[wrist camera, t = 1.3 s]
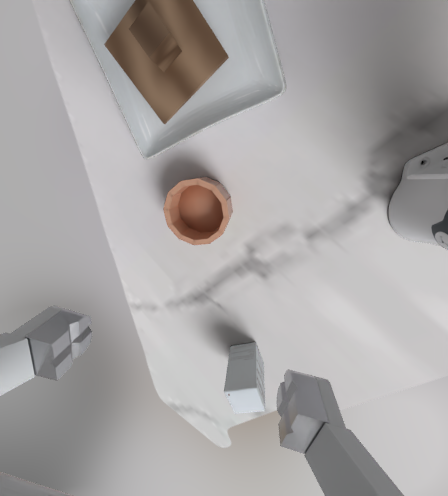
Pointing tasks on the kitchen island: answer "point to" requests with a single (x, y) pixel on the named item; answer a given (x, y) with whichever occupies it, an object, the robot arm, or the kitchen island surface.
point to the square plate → (213, 90)
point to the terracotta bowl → (198, 210)
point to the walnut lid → (166, 52)
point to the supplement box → (245, 379)
